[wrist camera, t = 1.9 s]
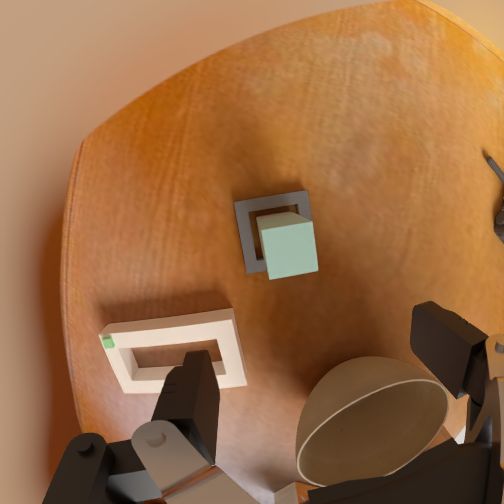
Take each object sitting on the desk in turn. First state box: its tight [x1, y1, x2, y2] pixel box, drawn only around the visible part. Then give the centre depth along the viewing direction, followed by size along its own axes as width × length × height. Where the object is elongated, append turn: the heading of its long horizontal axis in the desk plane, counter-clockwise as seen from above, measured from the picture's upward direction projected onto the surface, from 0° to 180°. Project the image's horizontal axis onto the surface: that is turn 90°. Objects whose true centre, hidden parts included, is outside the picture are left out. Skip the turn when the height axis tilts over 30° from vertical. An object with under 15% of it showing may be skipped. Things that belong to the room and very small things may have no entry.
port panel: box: [98, 308, 247, 393], centre depth 31 cm, size 16×9×4 cm, turn 100°
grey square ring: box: [234, 190, 315, 274], centre depth 29 cm, size 7×7×1 cm
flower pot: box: [296, 356, 449, 487], centre depth 28 cm, size 18×18×12 cm
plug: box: [256, 211, 319, 280], centre depth 25 cm, size 4×4×10 cm
